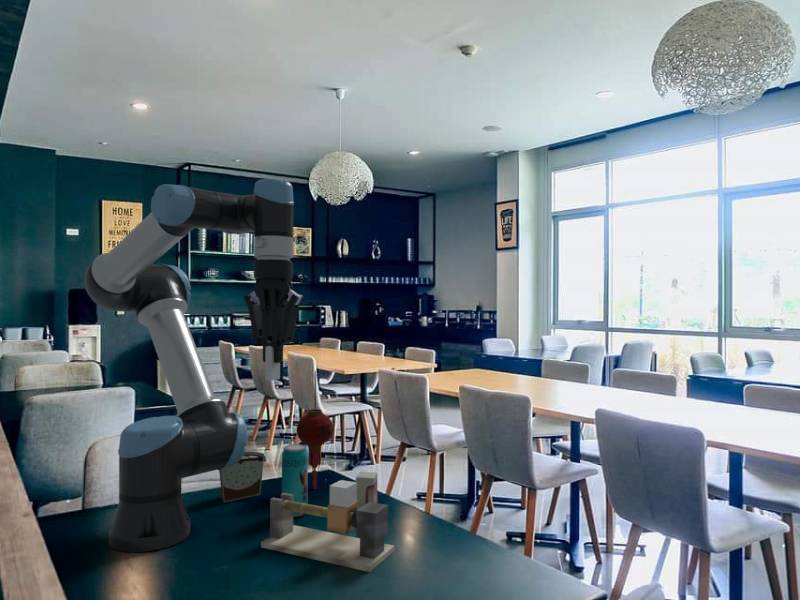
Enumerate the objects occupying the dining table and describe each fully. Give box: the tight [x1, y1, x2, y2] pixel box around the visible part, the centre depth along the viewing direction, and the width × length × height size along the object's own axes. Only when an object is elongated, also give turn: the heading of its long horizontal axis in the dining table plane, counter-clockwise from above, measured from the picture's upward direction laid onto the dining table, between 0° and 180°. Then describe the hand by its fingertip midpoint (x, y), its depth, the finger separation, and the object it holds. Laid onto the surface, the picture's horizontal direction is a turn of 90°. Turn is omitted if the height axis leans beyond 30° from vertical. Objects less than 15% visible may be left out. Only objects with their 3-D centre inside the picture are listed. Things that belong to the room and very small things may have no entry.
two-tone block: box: [326, 479, 359, 535], centre depth 113 cm, size 4×5×8 cm
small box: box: [355, 471, 378, 508], centre depth 137 cm, size 5×4×8 cm
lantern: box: [296, 370, 334, 490], centre depth 151 cm, size 10×10×30 cm
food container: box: [218, 450, 267, 504], centre depth 146 cm, size 12×6×10 cm, turn 130°
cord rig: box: [260, 492, 396, 573], centre depth 114 cm, size 24×10×10 cm, turn 64°
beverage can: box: [281, 443, 309, 518], centre depth 133 cm, size 6×6×15 cm
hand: (272, 379), depth 117 cm, fingers closed
